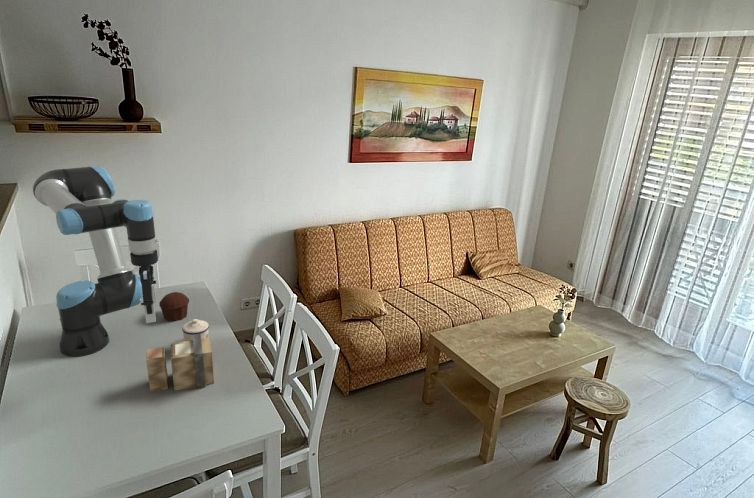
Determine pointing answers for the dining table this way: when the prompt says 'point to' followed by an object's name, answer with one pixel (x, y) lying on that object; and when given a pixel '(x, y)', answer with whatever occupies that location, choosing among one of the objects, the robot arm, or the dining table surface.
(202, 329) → the teacup with lid
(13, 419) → the dining table surface
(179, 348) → the tan wooden crate
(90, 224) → the robot arm
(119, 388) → the dining table surface
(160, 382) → the pink-ended wooden block
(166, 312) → the muffin
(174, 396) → the dining table surface
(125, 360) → the dining table surface
